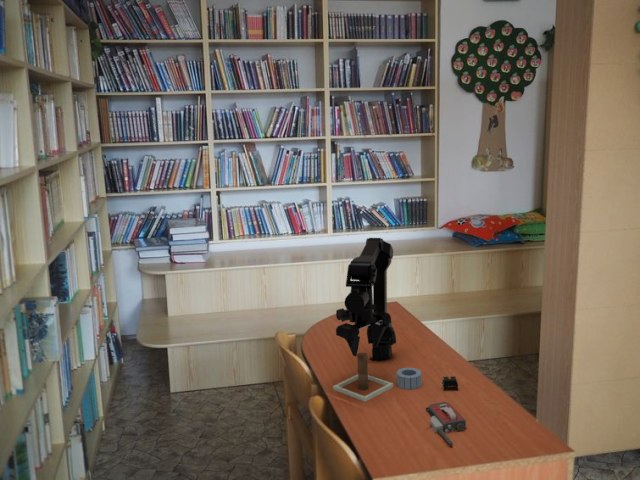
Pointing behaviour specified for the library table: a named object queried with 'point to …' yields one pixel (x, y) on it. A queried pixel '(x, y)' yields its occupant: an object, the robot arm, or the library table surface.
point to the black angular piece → (449, 382)
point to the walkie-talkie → (445, 419)
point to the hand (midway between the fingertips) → (365, 351)
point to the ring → (409, 378)
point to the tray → (358, 396)
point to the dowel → (362, 371)
